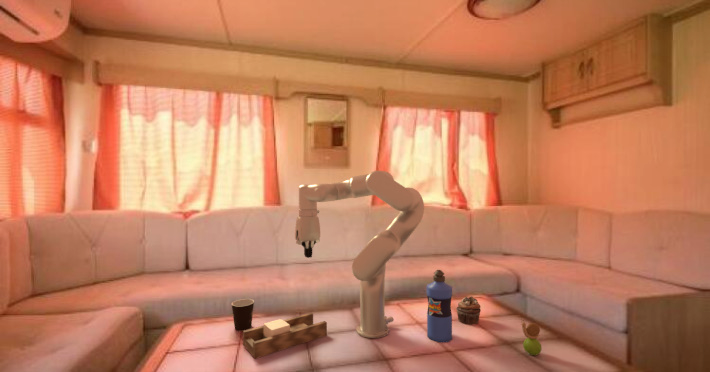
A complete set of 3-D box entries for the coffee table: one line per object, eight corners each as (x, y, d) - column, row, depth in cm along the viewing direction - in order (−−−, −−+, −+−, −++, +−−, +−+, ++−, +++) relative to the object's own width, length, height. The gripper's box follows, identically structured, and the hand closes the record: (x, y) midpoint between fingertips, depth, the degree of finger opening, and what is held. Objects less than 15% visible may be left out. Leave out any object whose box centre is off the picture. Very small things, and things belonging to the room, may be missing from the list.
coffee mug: (247, 332, 130) (247, 307, 129) (227, 330, 131) (227, 305, 131) (261, 320, 141) (261, 297, 141) (243, 319, 143) (242, 296, 143)
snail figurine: (517, 350, 114) (517, 315, 114) (534, 349, 114) (534, 315, 114) (526, 359, 108) (526, 322, 108) (545, 358, 109) (545, 321, 109)
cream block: (281, 329, 125) (281, 318, 125) (290, 335, 120) (289, 324, 120) (263, 334, 121) (263, 323, 121) (271, 341, 116) (271, 330, 116)
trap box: (311, 324, 136) (311, 312, 136) (326, 335, 127) (326, 322, 127) (243, 344, 120) (243, 331, 120) (254, 358, 110) (254, 343, 110)
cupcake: (470, 315, 145) (470, 292, 145) (485, 324, 136) (485, 299, 136) (451, 318, 142) (451, 294, 142) (465, 327, 133) (465, 302, 133)
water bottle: (435, 329, 131) (435, 266, 131) (457, 336, 125) (456, 270, 125) (422, 336, 125) (421, 270, 125) (444, 345, 118) (443, 275, 118)
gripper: (318, 212, 147) (319, 253, 148) (287, 214, 139) (288, 258, 139) (327, 213, 141) (328, 256, 142) (295, 215, 133) (296, 261, 133)
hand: (308, 257), depth 140 cm, fingers closed
